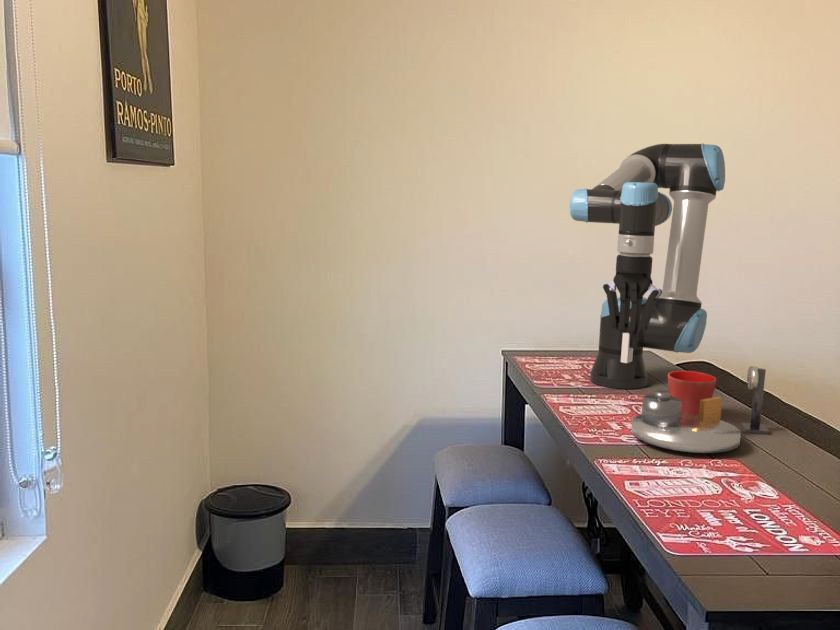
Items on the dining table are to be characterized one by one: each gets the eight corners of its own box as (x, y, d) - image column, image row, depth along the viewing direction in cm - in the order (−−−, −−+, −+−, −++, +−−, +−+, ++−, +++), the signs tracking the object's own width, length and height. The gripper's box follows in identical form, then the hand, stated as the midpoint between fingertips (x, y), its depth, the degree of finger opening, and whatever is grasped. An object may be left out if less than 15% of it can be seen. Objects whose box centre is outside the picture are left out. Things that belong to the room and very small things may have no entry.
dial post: (740, 426, 189) (746, 363, 187) (763, 427, 188) (770, 365, 186) (745, 432, 184) (751, 368, 182) (769, 434, 184) (775, 370, 181)
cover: (633, 419, 181) (635, 390, 180) (657, 414, 185) (660, 386, 184) (662, 429, 174) (665, 399, 173) (687, 423, 179) (690, 394, 178)
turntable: (609, 429, 180) (611, 397, 179) (676, 415, 192) (678, 385, 191) (694, 459, 162) (697, 424, 161) (762, 442, 174) (765, 409, 173)
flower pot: (716, 424, 190) (720, 383, 188) (666, 420, 192) (669, 379, 190) (709, 412, 200) (713, 372, 199) (662, 408, 202) (665, 369, 201)
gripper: (599, 252, 181) (591, 359, 185) (656, 258, 173) (647, 369, 177) (614, 251, 187) (607, 354, 190) (670, 256, 179) (661, 364, 182)
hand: (626, 361), depth 183 cm, fingers closed
